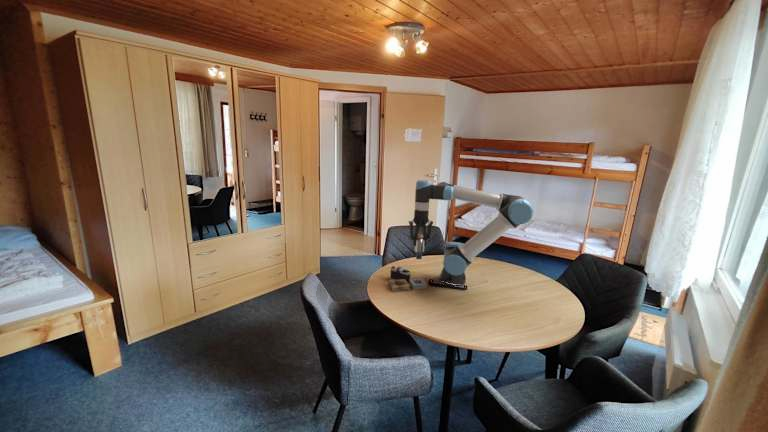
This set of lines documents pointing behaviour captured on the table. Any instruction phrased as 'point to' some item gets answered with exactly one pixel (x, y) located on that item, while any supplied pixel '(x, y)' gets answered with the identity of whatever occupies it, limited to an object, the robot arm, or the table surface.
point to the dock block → (399, 285)
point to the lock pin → (419, 246)
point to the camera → (400, 273)
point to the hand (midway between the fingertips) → (419, 251)
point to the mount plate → (417, 284)
